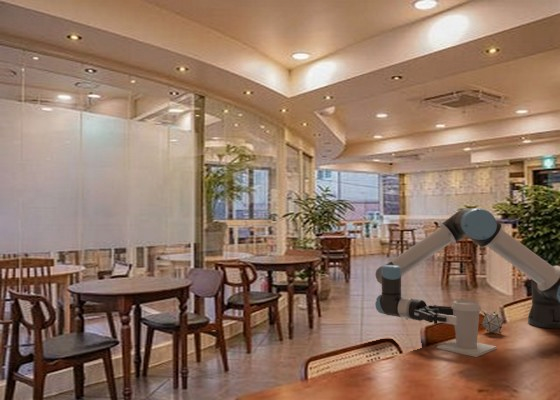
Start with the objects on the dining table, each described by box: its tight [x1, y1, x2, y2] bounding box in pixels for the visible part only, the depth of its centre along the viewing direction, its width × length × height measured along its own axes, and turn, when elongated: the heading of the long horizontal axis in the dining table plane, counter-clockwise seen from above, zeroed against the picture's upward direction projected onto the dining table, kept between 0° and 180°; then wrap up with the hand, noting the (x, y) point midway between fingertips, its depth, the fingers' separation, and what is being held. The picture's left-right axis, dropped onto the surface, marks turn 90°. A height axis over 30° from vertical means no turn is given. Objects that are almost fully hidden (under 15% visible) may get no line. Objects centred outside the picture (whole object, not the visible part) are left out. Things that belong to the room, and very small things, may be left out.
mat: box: [436, 339, 497, 358], centre depth 167 cm, size 14×14×1 cm
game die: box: [478, 311, 506, 335], centre depth 188 cm, size 9×8×10 cm
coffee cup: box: [450, 299, 482, 349], centre depth 167 cm, size 10×10×15 cm
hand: (466, 317), depth 167 cm, fingers open, 13 cm apart
